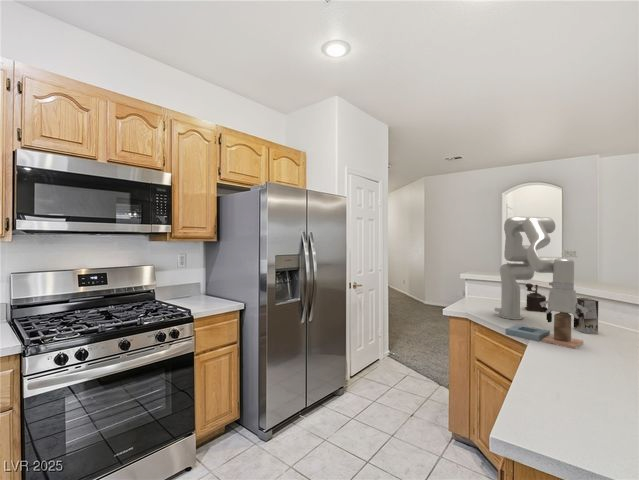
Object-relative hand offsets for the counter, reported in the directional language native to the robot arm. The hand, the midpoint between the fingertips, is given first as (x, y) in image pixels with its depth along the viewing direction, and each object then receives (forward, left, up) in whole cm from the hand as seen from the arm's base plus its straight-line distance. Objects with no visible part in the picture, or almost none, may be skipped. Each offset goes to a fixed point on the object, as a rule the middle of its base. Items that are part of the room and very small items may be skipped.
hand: (562, 324), depth 144 cm
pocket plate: (-14, 0, -8) cm, 16 cm away
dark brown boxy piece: (-32, +63, -8) cm, 71 cm away
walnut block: (0, 0, -7) cm, 7 cm away
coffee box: (+1, +31, -8) cm, 32 cm away
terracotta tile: (0, 0, -8) cm, 8 cm away
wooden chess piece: (-14, +53, -8) cm, 55 cm away
